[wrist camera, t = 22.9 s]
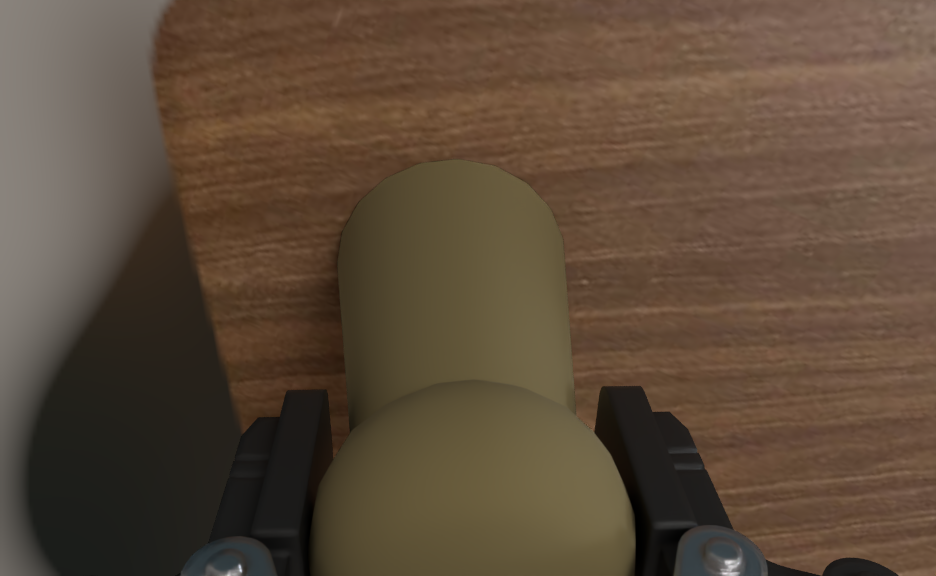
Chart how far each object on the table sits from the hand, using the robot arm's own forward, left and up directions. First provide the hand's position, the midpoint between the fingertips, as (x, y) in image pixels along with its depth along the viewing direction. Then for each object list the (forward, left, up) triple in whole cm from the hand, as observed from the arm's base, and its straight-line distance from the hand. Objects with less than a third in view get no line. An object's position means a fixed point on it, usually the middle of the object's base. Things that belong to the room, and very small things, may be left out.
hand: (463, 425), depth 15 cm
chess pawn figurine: (0, 0, -7) cm, 7 cm away
